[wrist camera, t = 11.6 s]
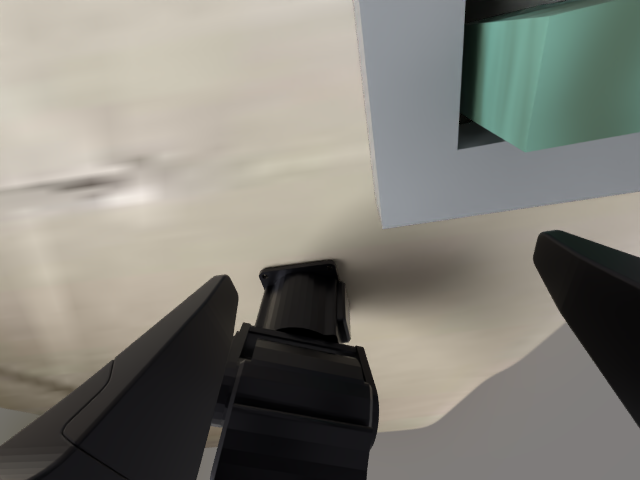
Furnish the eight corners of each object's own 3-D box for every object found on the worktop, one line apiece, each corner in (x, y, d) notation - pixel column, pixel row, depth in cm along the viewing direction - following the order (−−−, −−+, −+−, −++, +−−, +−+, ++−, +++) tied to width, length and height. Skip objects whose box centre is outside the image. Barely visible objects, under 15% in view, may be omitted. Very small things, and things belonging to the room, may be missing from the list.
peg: (453, 108, 17) (525, 152, 11) (455, 25, 15) (549, 16, 8) (527, 93, 17) (653, 129, 10) (541, 4, 14) (715, -24, 8)
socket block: (375, 198, 21) (382, 229, 17) (343, -84, 13) (346, -125, 10) (598, 162, 18) (655, 189, 15) (719, -202, 11) (888, -307, 7)
